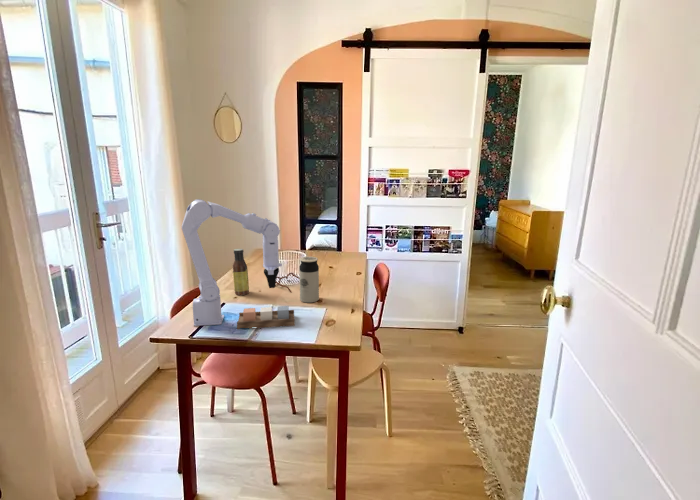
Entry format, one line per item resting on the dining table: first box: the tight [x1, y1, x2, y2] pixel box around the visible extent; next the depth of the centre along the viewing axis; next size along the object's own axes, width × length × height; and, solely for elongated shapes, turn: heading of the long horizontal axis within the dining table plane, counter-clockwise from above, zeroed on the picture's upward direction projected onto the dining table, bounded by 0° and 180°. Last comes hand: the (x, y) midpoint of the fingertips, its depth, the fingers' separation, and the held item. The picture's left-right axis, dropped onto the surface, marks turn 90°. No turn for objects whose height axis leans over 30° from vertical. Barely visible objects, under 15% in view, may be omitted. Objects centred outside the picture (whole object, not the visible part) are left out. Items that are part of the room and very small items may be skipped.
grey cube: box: [276, 305, 290, 319], centre depth 143 cm, size 4×4×4 cm
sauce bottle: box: [232, 248, 250, 296], centre depth 170 cm, size 6×6×20 cm
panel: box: [236, 309, 296, 330], centre depth 143 cm, size 20×9×2 cm, turn 100°
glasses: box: [275, 272, 300, 293], centre depth 183 cm, size 13×13×5 cm
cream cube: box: [259, 306, 273, 320], centre depth 142 cm, size 4×4×4 cm
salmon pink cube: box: [243, 307, 257, 321], centre depth 141 cm, size 4×4×4 cm
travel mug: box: [298, 256, 320, 304], centre depth 164 cm, size 8×8×18 cm
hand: (272, 287), depth 151 cm, fingers closed
